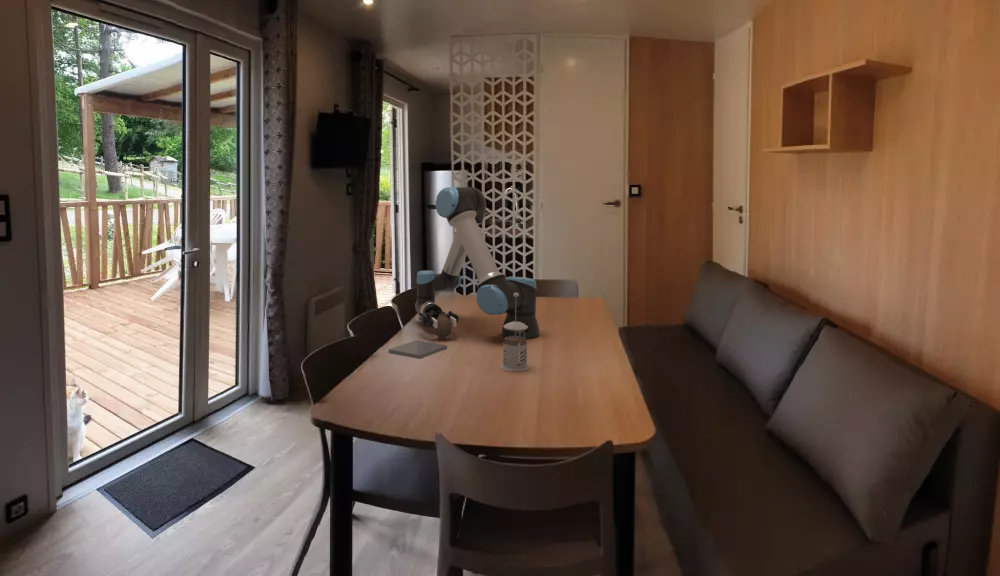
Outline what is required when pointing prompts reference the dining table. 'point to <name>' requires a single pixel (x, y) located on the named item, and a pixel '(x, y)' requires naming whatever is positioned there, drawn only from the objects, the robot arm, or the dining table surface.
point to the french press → (515, 347)
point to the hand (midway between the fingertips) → (445, 323)
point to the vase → (443, 326)
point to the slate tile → (417, 349)
